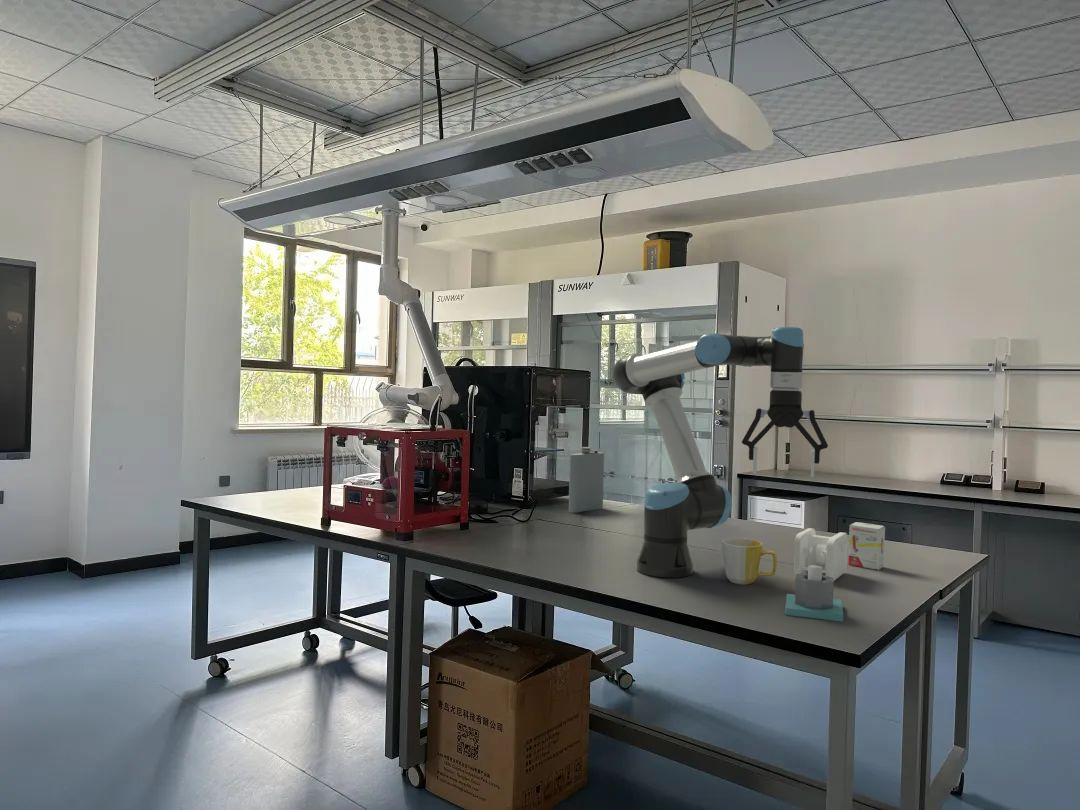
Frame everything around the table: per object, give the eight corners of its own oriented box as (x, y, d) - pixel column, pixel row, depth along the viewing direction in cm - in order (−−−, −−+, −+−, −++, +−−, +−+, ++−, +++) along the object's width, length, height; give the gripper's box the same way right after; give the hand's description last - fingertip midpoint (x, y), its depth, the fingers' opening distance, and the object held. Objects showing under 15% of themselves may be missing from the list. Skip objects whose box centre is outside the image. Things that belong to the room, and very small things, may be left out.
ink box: (847, 564, 213) (848, 523, 213) (852, 561, 217) (854, 521, 216) (878, 570, 207) (880, 528, 207) (884, 567, 211) (885, 525, 211)
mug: (714, 582, 191) (716, 542, 191) (728, 574, 200) (729, 535, 199) (768, 592, 183) (769, 549, 183) (779, 583, 192) (781, 542, 192)
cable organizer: (809, 567, 209) (810, 526, 209) (848, 573, 203) (850, 531, 203) (792, 578, 197) (794, 534, 197) (834, 585, 191) (835, 540, 191)
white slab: (596, 506, 302) (597, 445, 302) (604, 508, 299) (605, 446, 298) (565, 511, 291) (566, 447, 290) (573, 513, 287) (575, 448, 287)
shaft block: (785, 614, 166) (786, 570, 165) (786, 600, 177) (788, 558, 176) (843, 621, 161) (844, 576, 161) (841, 606, 173) (842, 563, 172)
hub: (794, 606, 167) (795, 580, 166) (795, 597, 174) (796, 571, 174) (833, 611, 164) (834, 584, 164) (832, 601, 171) (832, 575, 171)
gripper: (732, 388, 185) (730, 473, 186) (840, 391, 176) (837, 480, 177) (735, 388, 192) (733, 470, 193) (839, 390, 183) (836, 476, 184)
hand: (783, 475), depth 185 cm, fingers open, 13 cm apart
